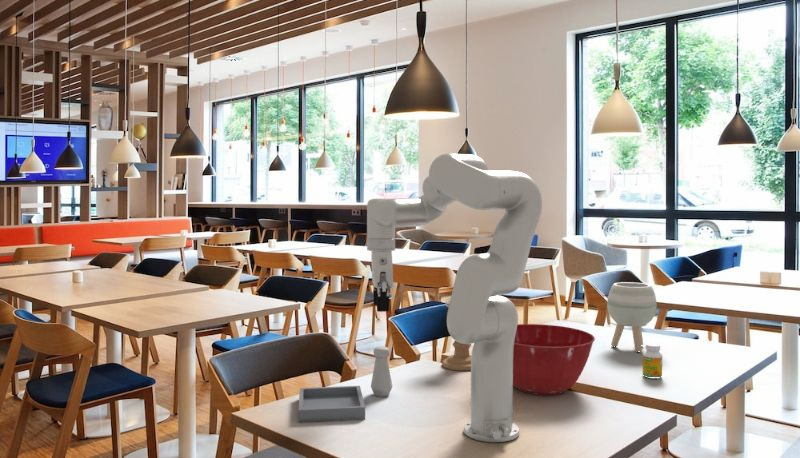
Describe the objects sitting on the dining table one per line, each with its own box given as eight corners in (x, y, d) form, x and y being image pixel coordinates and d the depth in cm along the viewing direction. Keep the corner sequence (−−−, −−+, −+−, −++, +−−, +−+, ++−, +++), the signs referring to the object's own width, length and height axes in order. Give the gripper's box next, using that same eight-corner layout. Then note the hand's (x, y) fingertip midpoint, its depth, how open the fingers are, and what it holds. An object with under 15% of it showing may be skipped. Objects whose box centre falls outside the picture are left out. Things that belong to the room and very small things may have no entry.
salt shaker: (389, 398, 182) (389, 350, 181) (368, 397, 183) (368, 349, 182) (394, 392, 187) (394, 345, 187) (374, 390, 189) (373, 344, 188)
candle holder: (449, 372, 207) (450, 306, 206) (436, 362, 219) (437, 300, 217) (487, 369, 210) (488, 304, 209) (472, 359, 222) (473, 298, 221)
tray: (365, 419, 166) (365, 407, 165) (298, 422, 164) (298, 410, 163) (359, 396, 183) (359, 385, 183) (299, 399, 181) (299, 388, 181)
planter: (596, 346, 240) (597, 283, 239) (631, 341, 247) (632, 280, 246) (629, 356, 226) (631, 289, 224) (666, 351, 233) (667, 286, 231)
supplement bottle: (641, 378, 200) (641, 345, 200) (643, 373, 205) (644, 341, 205) (660, 380, 198) (661, 347, 197) (663, 376, 203) (663, 343, 202)
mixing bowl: (593, 377, 201) (594, 326, 200) (594, 408, 173) (595, 348, 172) (497, 371, 208) (498, 321, 207) (483, 399, 181) (483, 341, 180)
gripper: (399, 247, 175) (398, 313, 176) (391, 241, 192) (391, 302, 193) (369, 248, 174) (369, 314, 175) (364, 242, 191) (364, 302, 192)
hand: (381, 307), depth 184 cm, fingers open, 9 cm apart
